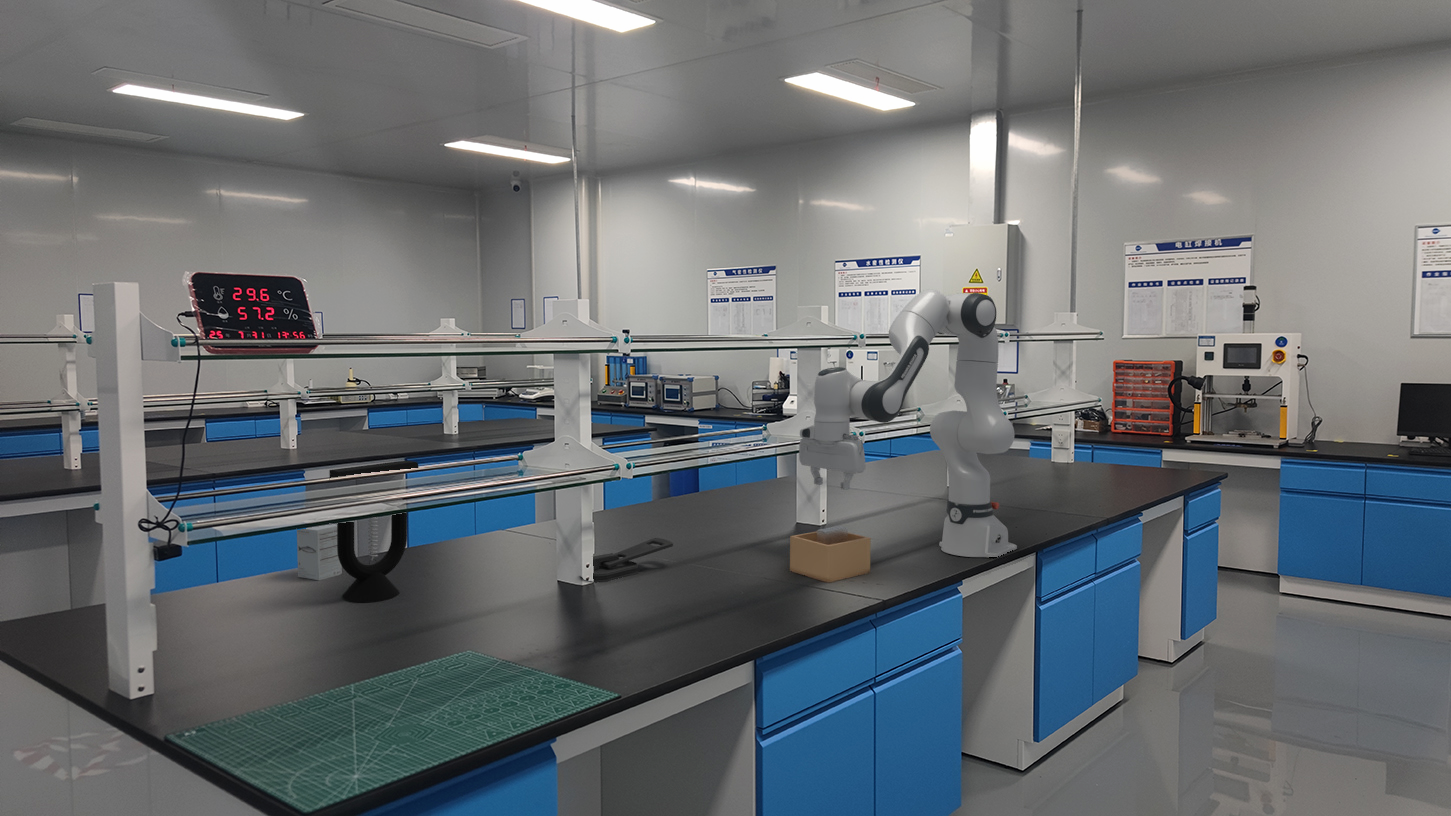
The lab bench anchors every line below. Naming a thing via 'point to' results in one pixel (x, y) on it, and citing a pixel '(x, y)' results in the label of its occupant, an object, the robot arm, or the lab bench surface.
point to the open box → (829, 557)
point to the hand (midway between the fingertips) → (831, 487)
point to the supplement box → (318, 552)
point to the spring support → (372, 577)
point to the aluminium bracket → (832, 535)
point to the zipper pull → (624, 560)
